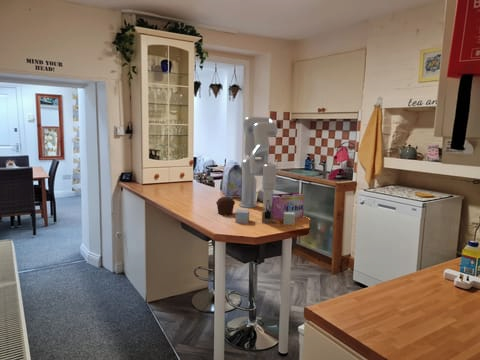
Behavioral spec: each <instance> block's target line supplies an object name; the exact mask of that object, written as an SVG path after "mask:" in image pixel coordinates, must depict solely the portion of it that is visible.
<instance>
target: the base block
mask: <svg viewBox="0 0 480 360" xmlns="http://www.w3.org/2000/svg"><path fill="white" fill-rule="evenodd" d="M234 221H235V222H234V223H236V224H249V222H248V221H250V209H236V211H235V220H234Z"/></svg>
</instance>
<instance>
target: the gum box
mask: <svg viewBox="0 0 480 360" xmlns="http://www.w3.org/2000/svg"><path fill="white" fill-rule="evenodd" d="M271 211H273V221H274V220H275V221H277V219H278V220H283V219H284V211H286V212H295V218H301V216H302V217H304V213H305V194H301V193H300V192H288V193H276V194H275V193H273V203H272V207H271Z"/></svg>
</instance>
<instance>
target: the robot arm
mask: <svg viewBox="0 0 480 360" xmlns="http://www.w3.org/2000/svg"><path fill="white" fill-rule="evenodd" d="M243 129H244V136H245V138H244V154H245V156H246V157H249V158H245V159H243V160H242V161H241V165H240V166H241V168H242V198H241V202H240V203H239V204H238V206H239V207H242V208H247V209H250V208H251V209H253V208H257V207H259V205H258V204H259V203H257V178H256V176H258V177H262V180H261V183H262V186H261V190H263V197H262V198H263V201H262V207H263V208H264V210H265V219H270V218H271V212H270V211H271V207H272V203H273V194H274V191H275V190H277V189H276V188H277V170H278V169H277V168H278V167H277V165H276V164H274V163H272V162H269V159H270V158H269V157H270V155H269V154H270V139H269V138H270V137H276V136H277V133H278V126H277V124H276V122H275V120H273V119H272V118H271V117H266V116H264V117H263V116H248V117H245V118H244V120H243Z"/></svg>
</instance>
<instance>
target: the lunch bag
mask: <svg viewBox="0 0 480 360" xmlns="http://www.w3.org/2000/svg"><path fill="white" fill-rule="evenodd" d="M221 192H222V193H223V194H224V195H225V197H230V198H232V199H233V198H238V199H239V198H240V199H242V168H241V165H240V164H238V161H236V160H234V159H231V160H229V161H228V162H227V163H226V164H225V166H224V167H223V171H222V186H221Z"/></svg>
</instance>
